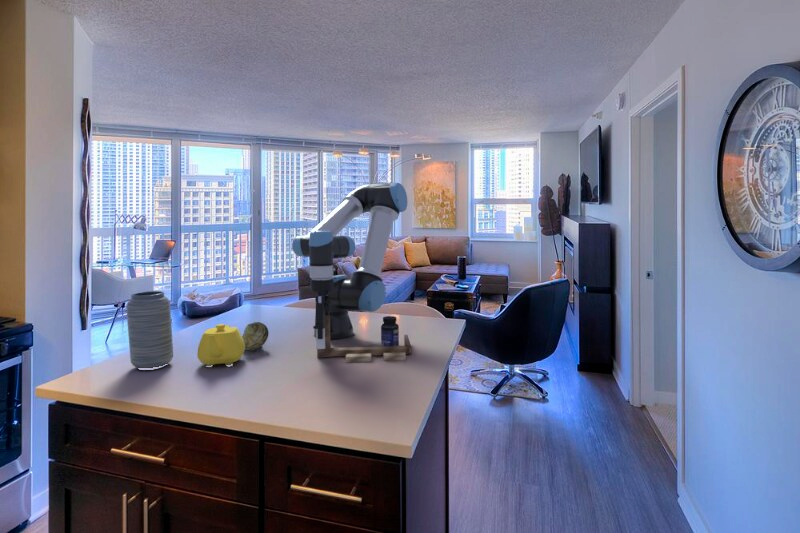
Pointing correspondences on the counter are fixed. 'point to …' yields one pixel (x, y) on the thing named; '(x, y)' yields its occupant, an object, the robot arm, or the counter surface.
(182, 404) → the counter surface
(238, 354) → the yellow faceted lidded jar
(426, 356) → the counter surface
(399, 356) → the broken strip
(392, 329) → the pill bottle
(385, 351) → the wooden stand
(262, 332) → the seashell
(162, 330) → the vase
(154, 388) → the counter surface
